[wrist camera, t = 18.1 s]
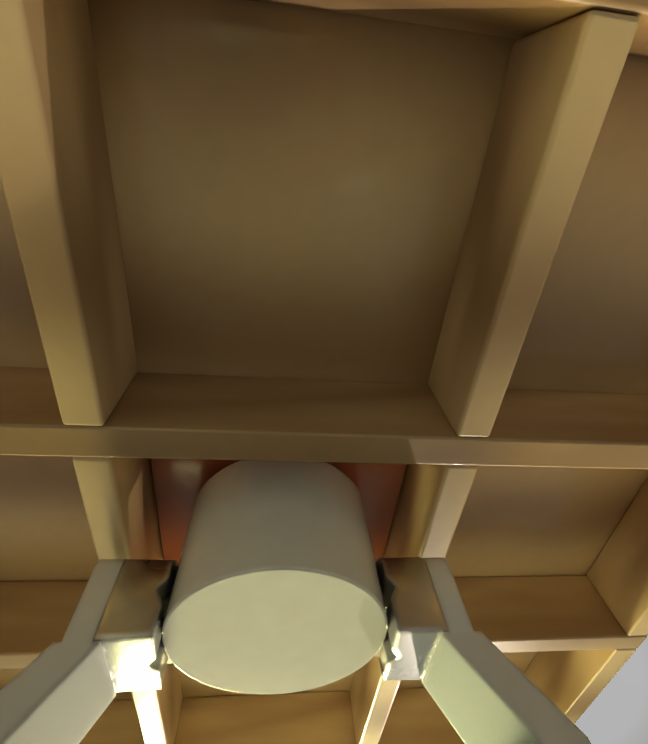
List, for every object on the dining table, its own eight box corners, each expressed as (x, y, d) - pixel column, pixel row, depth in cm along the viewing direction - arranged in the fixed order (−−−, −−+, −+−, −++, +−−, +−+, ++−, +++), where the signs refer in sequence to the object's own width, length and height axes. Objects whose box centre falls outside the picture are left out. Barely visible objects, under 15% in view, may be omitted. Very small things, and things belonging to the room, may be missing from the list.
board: (-567, -178, 5) (-1221, -418, 3) (906, 56, 8) (1163, 23, 5) (-25, 695, 16) (-76, 788, 14) (520, 674, 18) (553, 750, 16)
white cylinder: (186, 449, 9) (148, 568, 7) (376, 454, 10) (408, 568, 7) (196, 573, 12) (170, 700, 9) (352, 572, 12) (370, 692, 10)
